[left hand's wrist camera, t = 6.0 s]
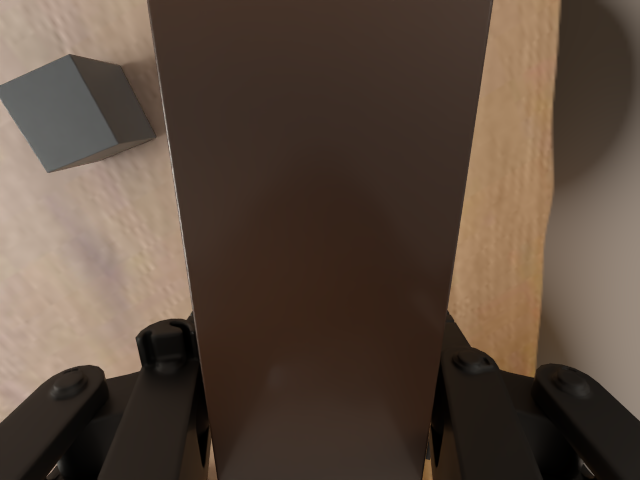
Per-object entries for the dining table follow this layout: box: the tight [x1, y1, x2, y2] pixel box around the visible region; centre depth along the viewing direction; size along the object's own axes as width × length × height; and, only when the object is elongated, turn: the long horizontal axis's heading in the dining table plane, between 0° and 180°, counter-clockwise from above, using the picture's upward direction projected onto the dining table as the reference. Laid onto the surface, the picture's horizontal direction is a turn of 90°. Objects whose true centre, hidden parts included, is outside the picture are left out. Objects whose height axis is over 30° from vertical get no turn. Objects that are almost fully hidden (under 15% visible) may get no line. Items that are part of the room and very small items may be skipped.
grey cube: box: [0, 54, 156, 173], centre depth 22 cm, size 5×5×5 cm
